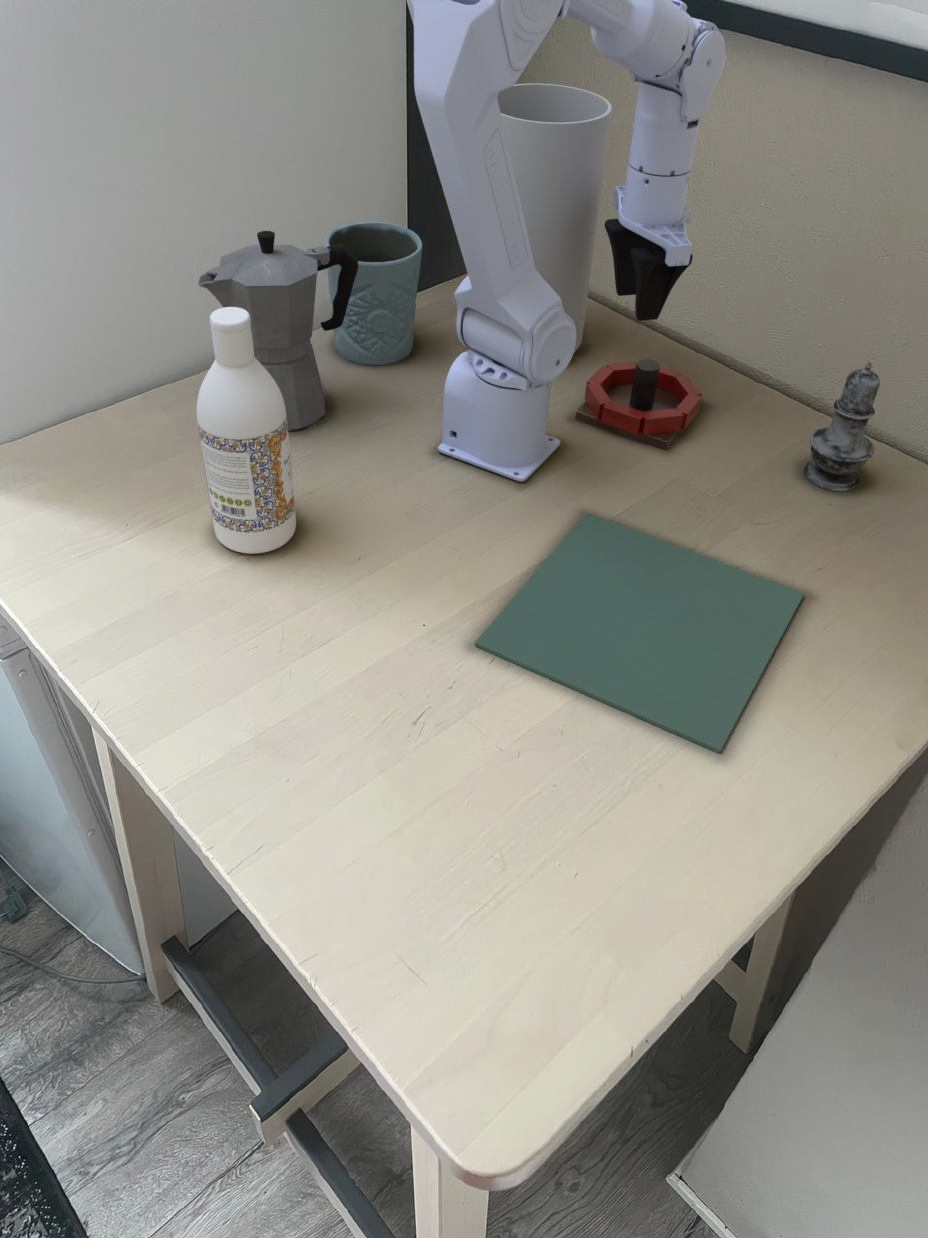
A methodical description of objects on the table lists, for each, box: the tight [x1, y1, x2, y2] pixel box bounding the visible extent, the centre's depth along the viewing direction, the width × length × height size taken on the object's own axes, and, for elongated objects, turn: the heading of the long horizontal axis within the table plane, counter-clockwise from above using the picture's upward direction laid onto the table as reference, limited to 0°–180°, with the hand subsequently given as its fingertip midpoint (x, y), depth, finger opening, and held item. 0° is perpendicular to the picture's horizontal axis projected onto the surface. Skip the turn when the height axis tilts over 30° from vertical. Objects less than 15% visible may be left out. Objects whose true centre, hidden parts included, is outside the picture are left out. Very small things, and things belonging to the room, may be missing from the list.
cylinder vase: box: [497, 83, 613, 353], centre depth 108 cm, size 12×12×25 cm
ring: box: [583, 360, 703, 435], centre depth 104 cm, size 11×11×2 cm
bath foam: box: [196, 307, 297, 555], centre depth 82 cm, size 7×7×20 cm
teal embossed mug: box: [323, 221, 423, 366], centre depth 109 cm, size 10×10×12 cm
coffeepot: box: [198, 230, 358, 432], centre depth 98 cm, size 15×9×18 cm, turn 120°
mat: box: [474, 512, 805, 754], centre depth 82 cm, size 20×20×1 cm
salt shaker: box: [802, 361, 881, 492], centre depth 95 cm, size 6×6×12 cm
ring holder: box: [574, 358, 705, 451], centre depth 104 cm, size 10×10×6 cm
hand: (636, 305), depth 103 cm, fingers open, 5 cm apart
